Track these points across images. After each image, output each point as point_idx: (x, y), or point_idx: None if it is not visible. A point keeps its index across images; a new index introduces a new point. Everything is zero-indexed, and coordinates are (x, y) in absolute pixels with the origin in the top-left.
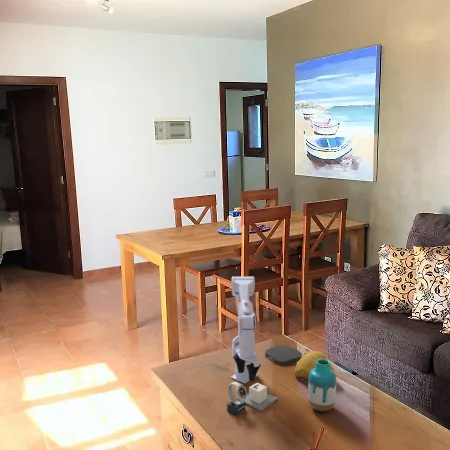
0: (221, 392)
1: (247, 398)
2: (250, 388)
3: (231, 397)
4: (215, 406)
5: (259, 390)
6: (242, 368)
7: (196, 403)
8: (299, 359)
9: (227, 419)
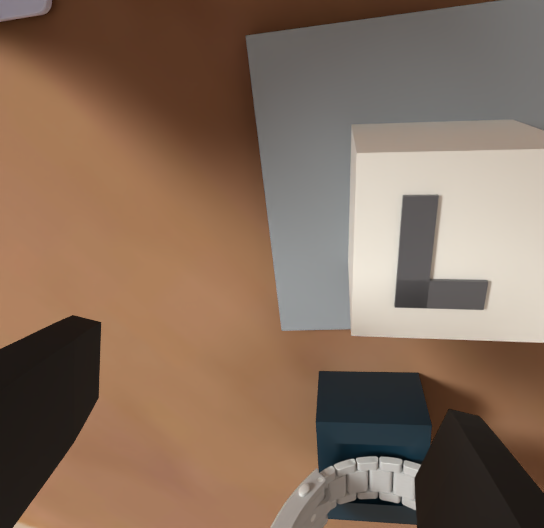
0: (75, 309)
1: (332, 266)
2: (378, 330)
3: (321, 520)
4: (216, 462)
5: (537, 313)
6: (46, 407)
7: (107, 499)
8: None
9: None
